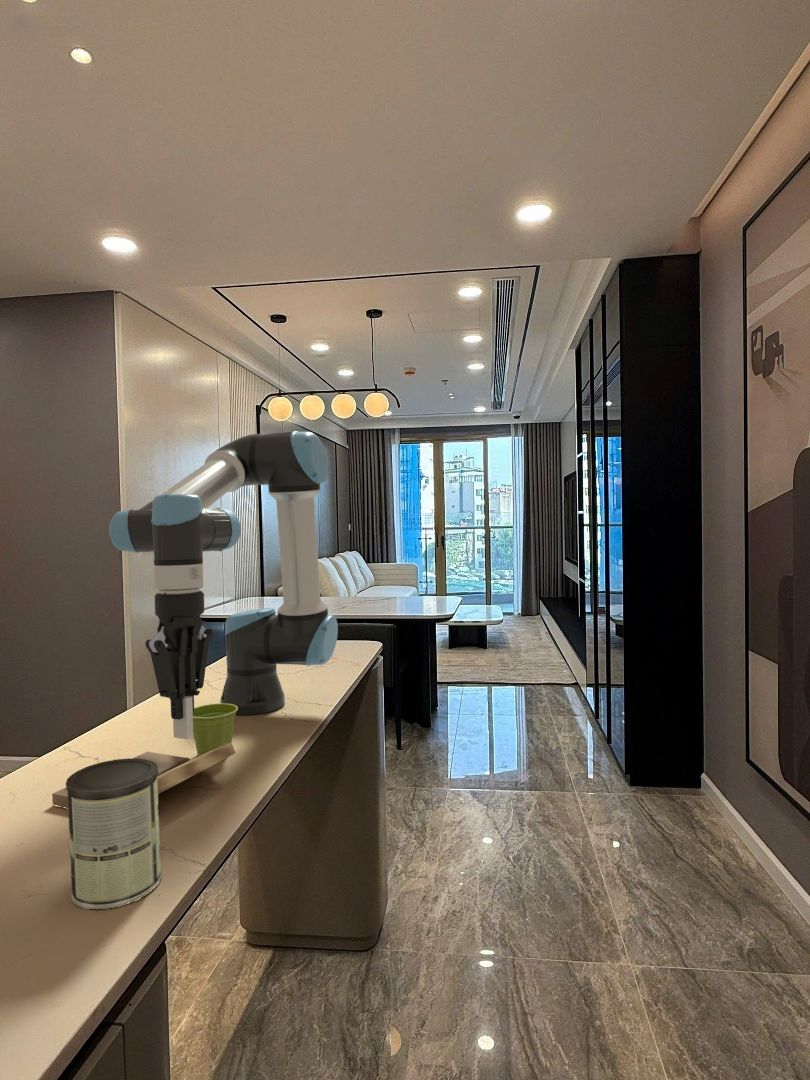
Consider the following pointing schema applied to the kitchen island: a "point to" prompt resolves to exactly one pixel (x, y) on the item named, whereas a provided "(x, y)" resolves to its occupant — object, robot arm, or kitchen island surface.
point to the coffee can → (113, 832)
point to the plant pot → (213, 726)
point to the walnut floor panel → (161, 760)
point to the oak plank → (193, 767)
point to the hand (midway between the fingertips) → (183, 736)
